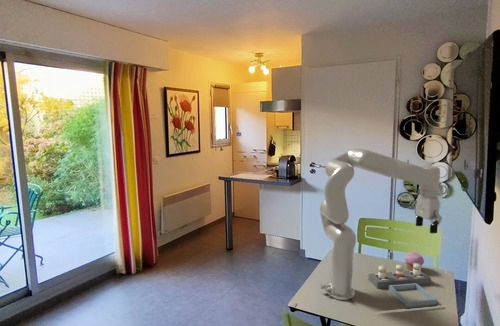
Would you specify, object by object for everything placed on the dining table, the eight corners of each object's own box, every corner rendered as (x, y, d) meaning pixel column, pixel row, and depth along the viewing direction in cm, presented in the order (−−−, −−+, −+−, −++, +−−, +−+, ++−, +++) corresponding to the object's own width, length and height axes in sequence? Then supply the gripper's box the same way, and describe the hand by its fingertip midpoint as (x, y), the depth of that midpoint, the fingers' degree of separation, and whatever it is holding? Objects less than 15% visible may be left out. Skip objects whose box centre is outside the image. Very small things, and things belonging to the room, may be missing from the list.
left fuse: (380, 285, 150) (381, 269, 149) (376, 281, 154) (377, 265, 153) (386, 284, 151) (387, 268, 150) (382, 281, 154) (383, 265, 153)
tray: (407, 308, 134) (407, 302, 133) (388, 291, 147) (388, 285, 146) (436, 306, 135) (437, 299, 135) (415, 289, 149) (416, 283, 148)
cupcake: (413, 266, 172) (414, 248, 170) (427, 273, 163) (428, 255, 162) (400, 268, 169) (401, 250, 167) (413, 276, 161) (414, 257, 159)
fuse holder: (377, 290, 148) (377, 281, 147) (368, 281, 156) (368, 273, 155) (430, 285, 152) (430, 277, 151) (419, 277, 160) (419, 269, 159)
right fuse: (415, 282, 153) (416, 266, 152) (410, 278, 156) (411, 263, 155) (421, 281, 153) (422, 266, 152) (417, 278, 157) (418, 262, 156)
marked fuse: (397, 283, 152) (398, 267, 150) (393, 280, 155) (394, 264, 154) (404, 283, 152) (405, 267, 151) (400, 279, 155) (401, 264, 154)
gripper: (409, 189, 154) (407, 223, 157) (434, 198, 137) (431, 236, 140) (423, 188, 155) (421, 222, 158) (450, 197, 138) (447, 235, 141)
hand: (426, 229), depth 149 cm, fingers open, 9 cm apart
